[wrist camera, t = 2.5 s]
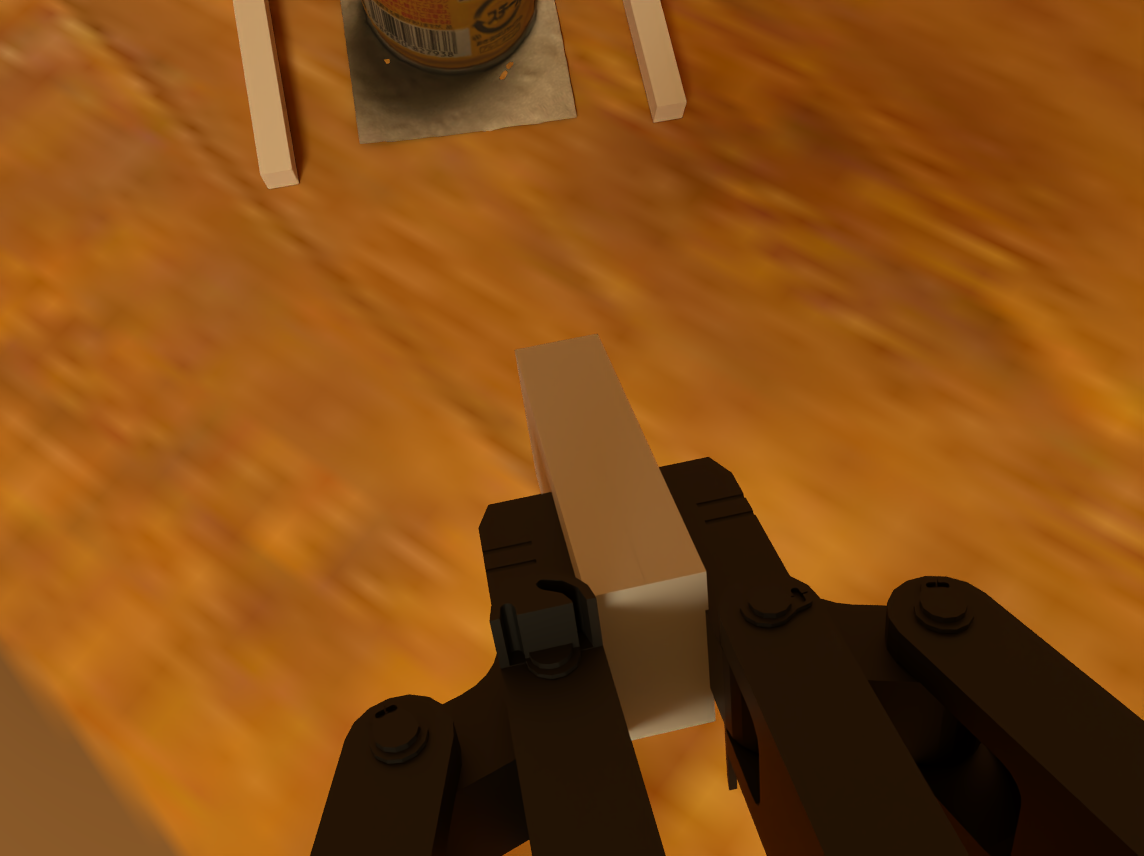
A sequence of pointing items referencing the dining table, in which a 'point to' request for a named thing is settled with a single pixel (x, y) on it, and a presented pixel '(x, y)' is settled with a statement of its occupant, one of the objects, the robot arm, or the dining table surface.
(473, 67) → the condiment
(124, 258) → the dining table surface
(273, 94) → the t outline
